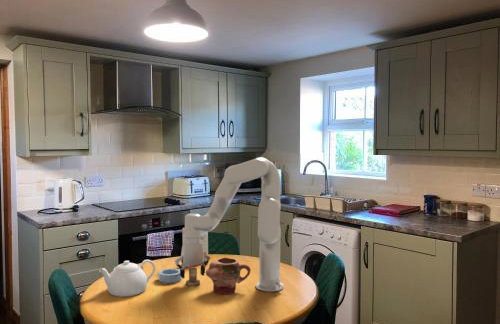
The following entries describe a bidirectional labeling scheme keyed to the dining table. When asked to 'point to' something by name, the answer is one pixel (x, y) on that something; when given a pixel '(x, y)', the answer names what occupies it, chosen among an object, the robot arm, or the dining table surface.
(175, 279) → the blue faceted bowl
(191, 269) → the lid
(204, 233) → the cracker box
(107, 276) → the teapot
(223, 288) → the sculpted mug
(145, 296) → the dining table surface
